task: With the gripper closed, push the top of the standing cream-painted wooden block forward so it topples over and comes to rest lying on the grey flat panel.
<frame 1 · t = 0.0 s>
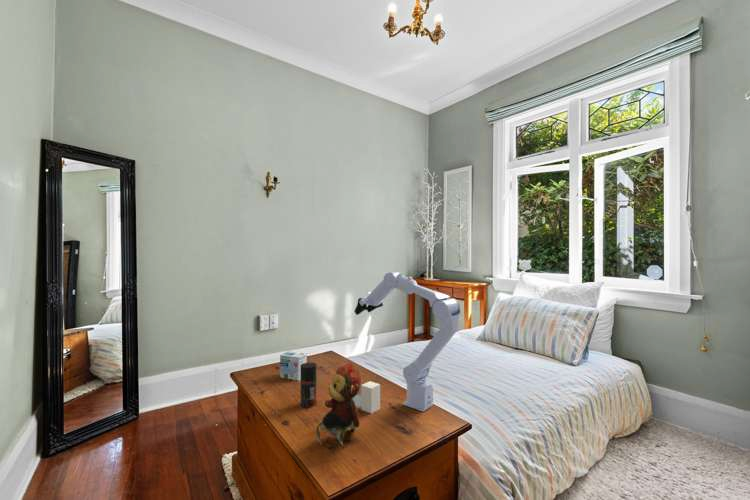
hand: (361, 311, 148), 32 cm above the table, tool tilted 50°, fingers open, 7 cm apart
grey flat panel: (351, 401, 133), on the table
stuffed monkey: (340, 440, 106), on the table
deodorant: (308, 404, 131), on the table
block: (370, 409, 126), on the table
light bulb box: (293, 377, 159), on the table
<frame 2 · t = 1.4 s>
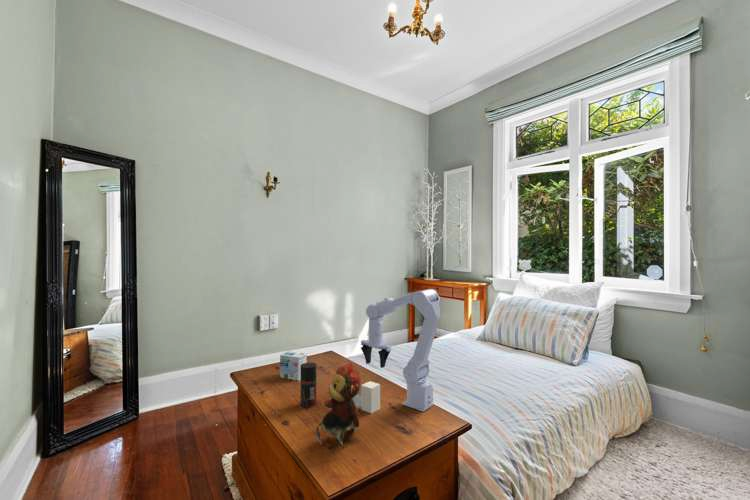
hand: (375, 365, 143), 11 cm above the table, tool pointing down, fingers open, 7 cm apart
nothing on the table moved.
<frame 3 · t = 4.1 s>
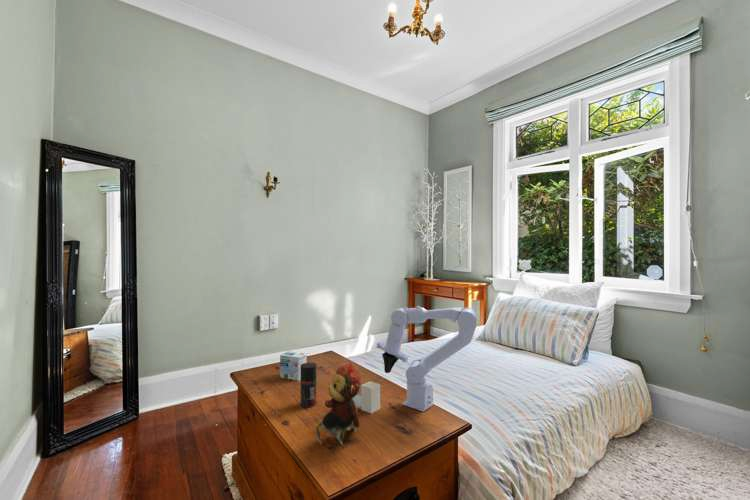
hand: (387, 372, 134), 11 cm above the table, tool pointing down, fingers closed
nothing on the table moved.
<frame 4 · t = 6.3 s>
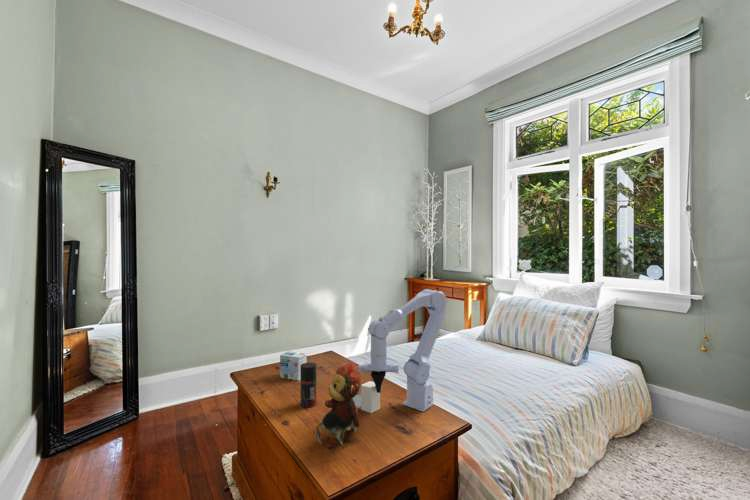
hand: (378, 391, 124), 7 cm above the table, tool pointing down, fingers closed
block: (370, 408, 126), on the table, touching gripper
everything else where it was.
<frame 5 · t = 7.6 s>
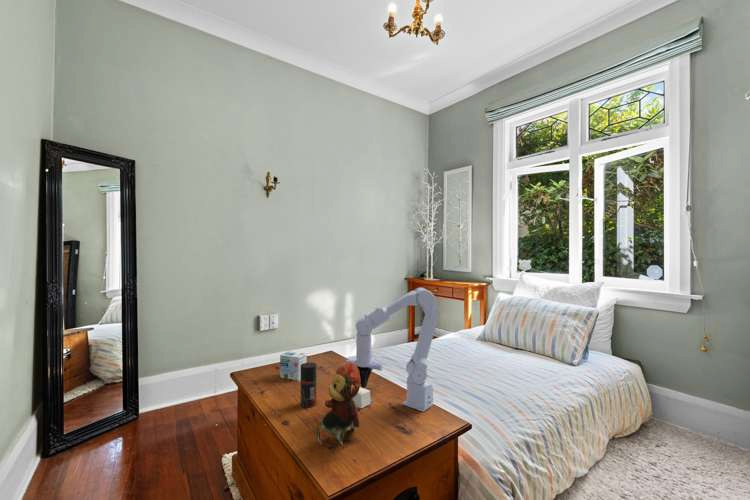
hand: (364, 386, 128), 7 cm above the table, tool pointing down, fingers closed
block: (365, 399, 128), point 3 cm above the table, tilted 90°, touching grey flat panel
everything else where it was.
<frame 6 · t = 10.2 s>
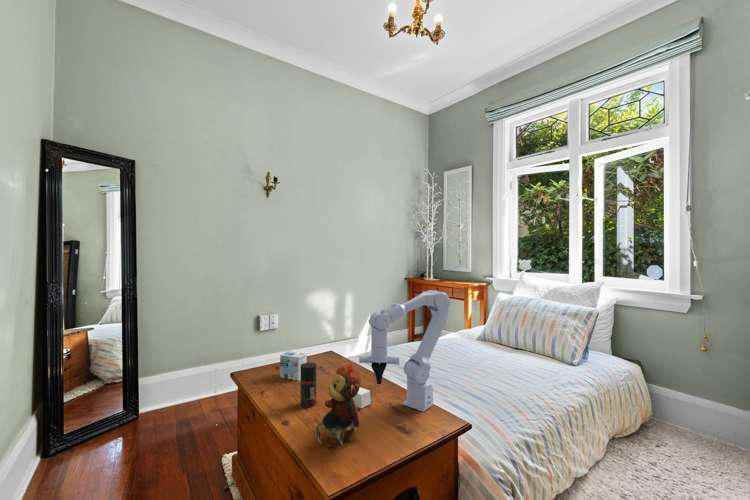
hand: (379, 383, 124), 10 cm above the table, tool pointing down, fingers closed
nothing on the table moved.
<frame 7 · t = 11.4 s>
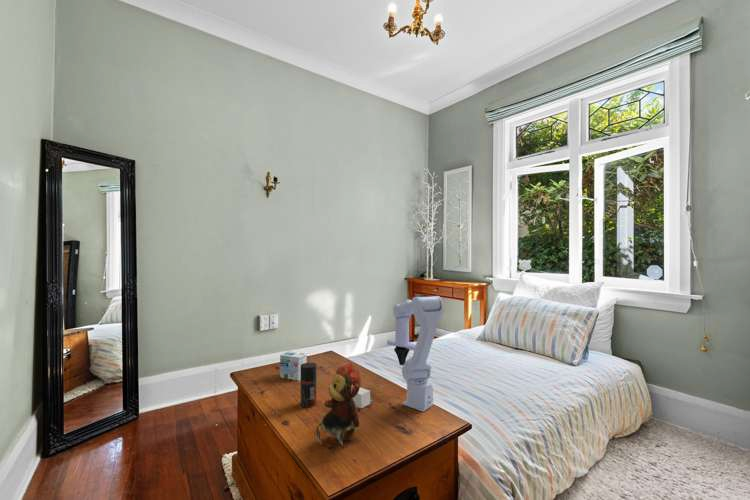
hand: (402, 364, 144), 10 cm above the table, tool pointing down, fingers closed
nothing on the table moved.
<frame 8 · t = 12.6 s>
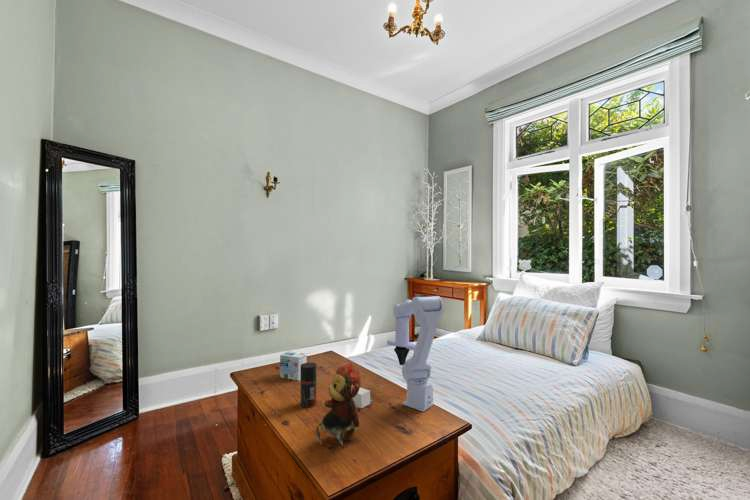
hand: (402, 364, 144), 10 cm above the table, tool pointing down, fingers closed
nothing on the table moved.
at the end: block tilted 90°; block inside the target area (8.1 cm from its centre), point 2.9 cm above the table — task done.
